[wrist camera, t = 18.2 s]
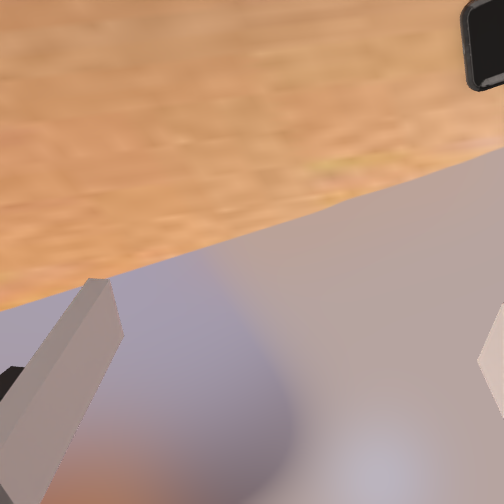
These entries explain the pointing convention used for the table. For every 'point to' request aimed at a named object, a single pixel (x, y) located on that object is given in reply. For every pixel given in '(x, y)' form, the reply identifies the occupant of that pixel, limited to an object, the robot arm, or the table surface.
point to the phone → (483, 43)
